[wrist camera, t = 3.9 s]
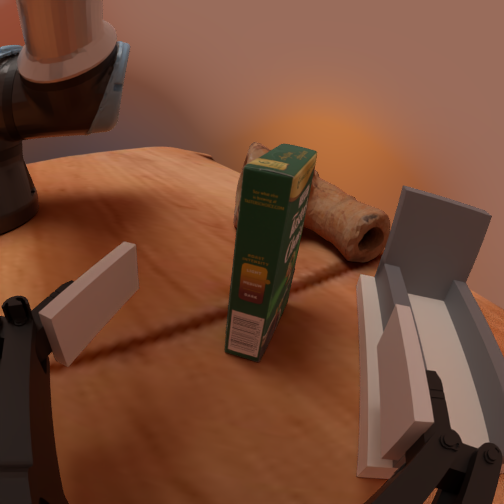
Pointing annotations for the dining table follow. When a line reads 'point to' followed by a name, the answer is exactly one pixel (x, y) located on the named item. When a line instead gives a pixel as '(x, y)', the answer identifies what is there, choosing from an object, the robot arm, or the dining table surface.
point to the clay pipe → (336, 216)
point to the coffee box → (266, 245)
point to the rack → (432, 322)
